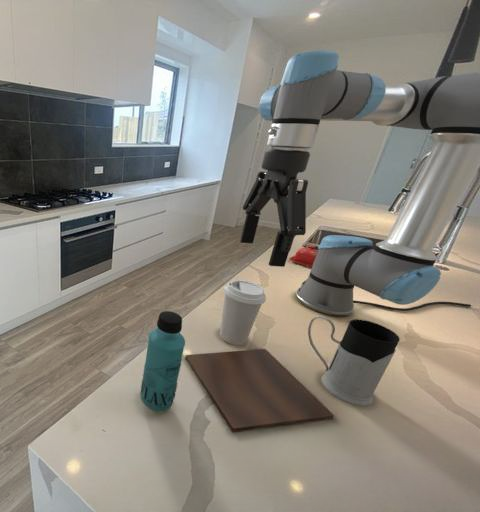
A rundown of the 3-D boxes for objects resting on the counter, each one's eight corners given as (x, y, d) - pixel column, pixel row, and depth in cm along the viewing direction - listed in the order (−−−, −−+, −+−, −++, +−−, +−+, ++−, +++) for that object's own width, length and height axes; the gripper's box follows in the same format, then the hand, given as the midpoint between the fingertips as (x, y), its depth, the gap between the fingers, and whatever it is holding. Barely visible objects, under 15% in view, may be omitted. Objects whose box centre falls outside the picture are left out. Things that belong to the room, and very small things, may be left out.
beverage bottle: (131, 403, 57) (142, 315, 50) (152, 385, 62) (164, 301, 54) (160, 425, 53) (176, 333, 46) (179, 404, 58) (197, 317, 50)
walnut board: (264, 351, 74) (265, 348, 73) (332, 419, 56) (334, 415, 56) (185, 358, 70) (185, 355, 70) (232, 432, 53) (233, 428, 52)
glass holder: (367, 413, 58) (400, 351, 52) (288, 370, 68) (308, 314, 62) (376, 391, 63) (407, 333, 58) (301, 355, 73) (321, 302, 68)
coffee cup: (220, 322, 85) (231, 274, 79) (256, 336, 79) (271, 286, 74) (208, 337, 78) (220, 286, 72) (247, 354, 72) (263, 301, 67)
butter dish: (296, 256, 139) (301, 239, 135) (325, 264, 130) (332, 246, 127) (286, 261, 132) (292, 243, 128) (316, 271, 124) (323, 252, 120)
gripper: (240, 146, 68) (222, 234, 76) (308, 151, 45) (271, 277, 53) (273, 147, 68) (251, 236, 76) (359, 153, 45) (314, 279, 53)
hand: (259, 253), depth 65 cm, fingers open, 13 cm apart
